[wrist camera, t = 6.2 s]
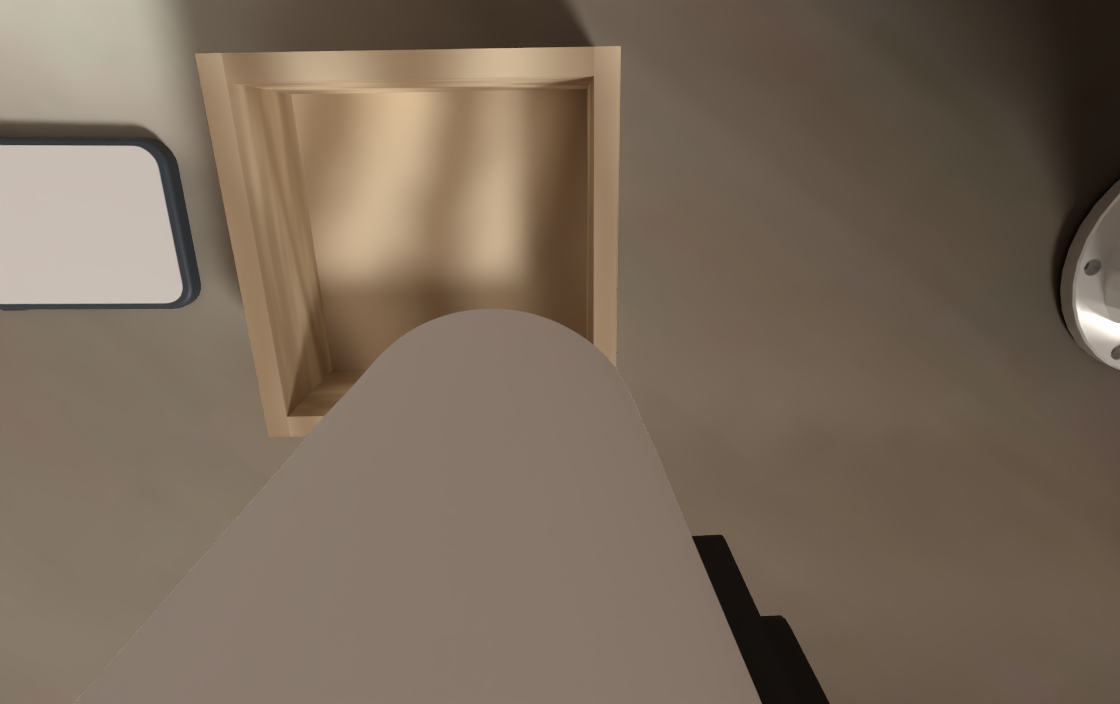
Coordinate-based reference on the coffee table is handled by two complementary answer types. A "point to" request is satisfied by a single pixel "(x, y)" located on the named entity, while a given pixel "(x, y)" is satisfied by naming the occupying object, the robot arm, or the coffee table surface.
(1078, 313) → the robot arm
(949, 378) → the coffee table surface
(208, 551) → the mug
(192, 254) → the smartphone
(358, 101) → the open wooden crate
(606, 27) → the coffee table surface
